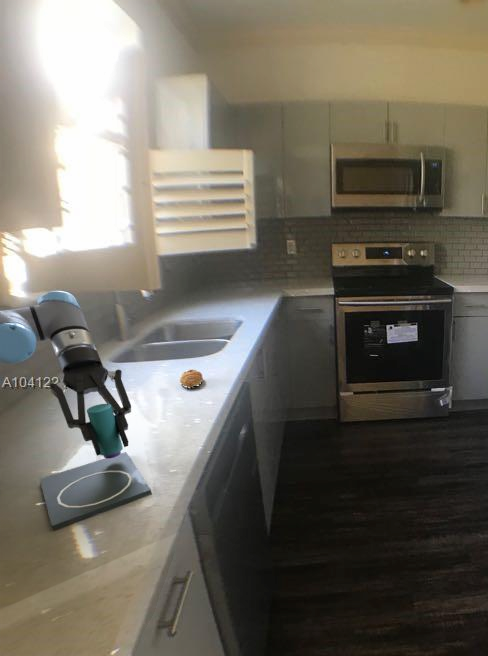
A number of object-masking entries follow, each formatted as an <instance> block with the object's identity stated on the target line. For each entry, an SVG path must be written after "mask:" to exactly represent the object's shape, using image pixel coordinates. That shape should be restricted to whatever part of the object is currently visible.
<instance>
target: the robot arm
mask: <svg viewBox="0 0 488 656" xmlns="http://www.w3.org/2000/svg"><path fill="white" fill-rule="evenodd" d="M45 340H50V343H51V345H52V348H53V351H54V353H55V357H56V359H57V362H58V365H59V368H60V371H61V373H62V378H61V381H59V382H58V383H54V382H53V383H50V385H49V388H50V392H51V394H52V395H53V396H54V397H55V398H56V399H57V401H58V403H59V406H60V409H61V411H62V414H63V416H64V420H65V421H66V425H67V427H68V429H74V428H75V429H77V428H78V429H79V430H80V432H81V435H82V438H83V441H85V442H91V443H92V446H93V449H94V451H95V455H96V456H97V457H98V456H102V455H101V450H100V447H99V444H98V441H97V439H96V436H95V433H94V431H93V428H92V425H91V423H90V421H88V422H87V418H86V417H87V416H86V399H85V398H86V396H85V395H87V394H90V393H98V395H99V396H100V397H101V398H102V399H103V400H104V402H105V404H110V405H111V406H112V410H113V413H114V417H115V421H116V424H117V428H118V432H119V435H120V439H121V443H122V446H123V448H126V447H128V446H129V439H128V437H127V435H126V431H128V429H129V422H128V421H127V419H126V415H127V414H130V413H132V404H131V402H130V399H129V396H128V394H127V391H126V388H125V386H124V383H123V379H122V378H123V373H122V370H121V369H116V370H115V371H111V370H108V368H106V367H105V366H104V365H103V362H102V359H101V357H100V354H99V353H98V352H99V351H98V350H97V346H96V344H95V342H94V340H93V338H92V335H91V332H90V329H89V326H88V324H87V321H86V319H85V316H84V312H83V309H82V308H81V306H80V304H79V302H78V301H77V299H76V297H75V296H74V295H73V294H71V293H69V292H67V291H63V290H51V291H48V292H47V293H44V294H42V295H40V296H39V298H38V299H37V304H35V305H32V306H28V307H19V308H12V309H3V310H0V362H1V363H5V364H18V363H21V362H24V361H26V360H28V359H30V357H32V356H33V355H34V353H35V352H36V348H37V347H36V346H37V342H40V341H41V342H42V341H45ZM108 378H110V381H112V382H114V386H115V388H116V391H117V394H118V397H119V400H120V402H121V405H122V407H121V406H120V404H119V403H118V402H117V400H116V399H115V398H114V396H113V395H112V394H111V392H110V391H109V389H108V388H107V386H106V384H105V383H106V382H107V379H108ZM66 387H67V388H68V389H70V390H72V391H73V392H76V401H77V419H76V418H74V416H73V414H72V413H73V412H72V411H71V409H70V406H69V404H68V400H67V398H66V395H65V392H66Z"/></svg>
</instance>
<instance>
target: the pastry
mask: <svg viewBox="0 0 488 656" xmlns="http://www.w3.org/2000/svg"><path fill="white" fill-rule="evenodd" d="M202 380H204V377H203V374H202V372H200V371H198V370H197V369H188V370H186V371H184V372H183V373H182V374H181V376H180V378H179V382H180V384H181V383H182V384H183V385H184V386H187V387H192V388H194V387H193V386H197V385H199V384H200V383H201V382H202V383H203V381H202ZM182 384H181V385H182Z"/></svg>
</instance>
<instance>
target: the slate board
mask: <svg viewBox="0 0 488 656" xmlns="http://www.w3.org/2000/svg"><path fill="white" fill-rule="evenodd" d="M39 482H40V486H41V490H42V494H43V497H44V502H45V505H46V510H47V513H48V517H49V521H50V526H51V529H52V530H53V531H57V530H59V529H61V528H64V527H68V526H69V525H72V524H75V523H77V522H80V521H84V520H86V519H89V518H92V517H94V516H96V515H97V516H98V515H99V514H102V513H104V512H106V511H110V510H112V509H115V508H118V507H121V506H123V505H126V504H129V503H131V502H134V501H136V500H139V499H142V498H145V497H147V496H150V495H152V494H153V493H152V489H151V487H150V486H149V484H148V483H147V481H146V479H144V477H143V475H142V474H141V473H140V471H139V470H138V468H137V466H136V464H135V463H134V461H133V460H132V459H131V457H130V455H129V454H128V453H127V451H125V452H121V454H120V455H118V456H117V457H114V458H102V459H98V460H96V461H92V462H89V463H86V464H83V465H79V466H75V467H73V468H70V469H67V470H64V471H60V472H57V473H54V474H51V475H48V476H44V477H40V478H39Z"/></svg>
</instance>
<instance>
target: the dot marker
mask: <svg viewBox="0 0 488 656" xmlns="http://www.w3.org/2000/svg"><path fill="white" fill-rule="evenodd" d="M86 413H87V416H88V419H89V422H90V423H91V425H92V428H93V431H94V433H95V436H96V439H97V441H98V444H99V447H100V450H101V455H100V456H102V457H103V459H105V458H114V457H117V456H118V455H120V454H121V453H122V451H123V448H124V445H123V442H122V440H121V437H120V435H119V432H118V428H117V424H116V421H115V417H114V415H115V414H114V412H113V410H112V406H111V405H110V404H107V403H100V404H95V405H92V406H90V407H88V408H87V409H86Z"/></svg>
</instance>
